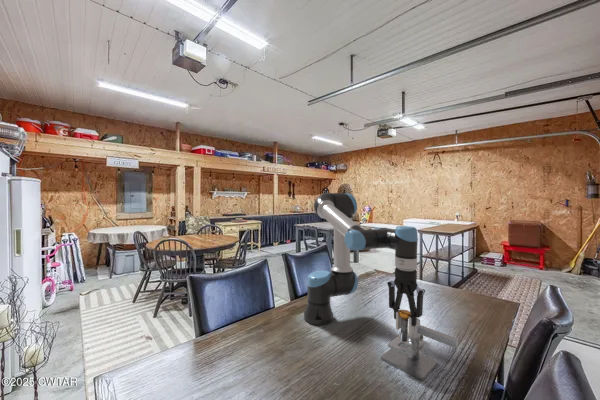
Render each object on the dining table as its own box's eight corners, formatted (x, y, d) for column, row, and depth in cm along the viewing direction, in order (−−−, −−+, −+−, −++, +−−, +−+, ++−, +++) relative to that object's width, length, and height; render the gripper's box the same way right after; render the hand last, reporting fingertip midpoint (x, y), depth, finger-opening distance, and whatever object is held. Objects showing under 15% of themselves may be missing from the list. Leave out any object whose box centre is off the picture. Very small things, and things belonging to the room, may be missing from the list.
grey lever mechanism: (379, 360, 100) (380, 321, 100) (398, 345, 110) (398, 310, 110) (443, 394, 83) (445, 348, 83) (459, 373, 93) (460, 332, 93)
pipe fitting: (412, 346, 111) (423, 341, 114) (412, 337, 111) (423, 332, 113) (398, 336, 118) (408, 332, 121) (397, 328, 118) (408, 324, 121)
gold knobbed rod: (395, 339, 96) (396, 311, 96) (400, 335, 99) (402, 308, 99) (406, 344, 93) (408, 316, 93) (411, 340, 96) (413, 312, 96)
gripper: (379, 265, 99) (378, 325, 100) (425, 275, 87) (424, 344, 87) (389, 262, 104) (388, 319, 105) (434, 271, 92) (433, 336, 92)
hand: (404, 330), depth 96 cm, fingers closed on gold knobbed rod, 4 cm apart
